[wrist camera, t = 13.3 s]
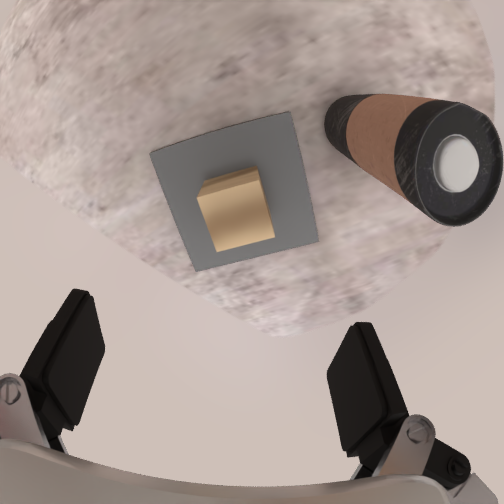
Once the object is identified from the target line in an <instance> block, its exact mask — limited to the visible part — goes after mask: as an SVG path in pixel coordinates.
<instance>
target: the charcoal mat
mask: <svg viewBox="0 0 504 504" xmlns="http://www.w3.org/2000/svg"><path fill="white" fill-rule="evenodd" d="M150 157H151V160H152V162H153V165H154V168H155V171H156V173H157V176H158V179H159V181H160V184H161V187H162V189H163V192H164V195H165V197H166V200H167V202H168V205H169V208H170V210H171V213H172V215H173V218H174V220H175V223H176V225H177V228H178V230H179V233H180V235H181V237H182V240H183V242H184V245H185V247H186V250H187V252H188V254H189V257H190V259H191V261H192V264H193V266H194V268H195V271H196V272H198V271H202V270H206V269H210V268H214V267H218V266H222V265H226V264H231V263H235V262H239V261H243V260H247V259H251V258H255V257H259V256H263V255H267V254H271V253H275V252H279V251H283V250H288V249H292V248H296V247H300V246H304V245H308V244H312V243H316V242H319V239H318V234H317V229H316V223H315V218H314V213H313V208H312V203H311V198H310V193H309V189H308V184H307V179H306V175H305V170H304V166H303V162H302V157H301V153H300V149H299V144H298V140H297V136H296V132H295V128H294V124H293V120H292V116H291V112H284V113H280V114H276V115H272V116H267V117H263V118H259V119H255V120H252V121H248V122H244V123H240V124H237V125H233V126H230V127H226V128H223V129H219V130H216V131H213V132H209V133H206V134H203V135H200V136H197V137H194V138H191V139H188V140H185V141H182V142H179V143H176V144H173V145H170V146H167V147H165V148H162V149H159V150H156V151H154V152H151V153H150ZM254 166H257V168H258V171H259V175H260V178H261V182H262V185H263V189H264V192H265V196H266V200H267V203H268V207H269V210H270V214H271V219H272V224H273V229H274V234H275V237H274V238H270V239H266V240H262V241H258V242H254V243H250V244H247V245H243V246H239V247H235V248H231V249H227V250H223V251H219V252H217V251H216V249H215V246H214V243H213V241H212V238H211V235H210V233H209V230H208V227H207V225H206V222H205V219H204V217H203V214H202V211H201V208H200V206H199V203H198V200H197V196H198V194H199V192H200V189H201V187H202V185H203V183H204V181H205V180H208V179H212V178H215V177H218V176H222V175H225V174H229V173H232V172H236V171H239V170H243V169H246V168H250V167H254Z"/></svg>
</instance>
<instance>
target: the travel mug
mask: <svg viewBox="0 0 504 504" xmlns="http://www.w3.org/2000/svg"><path fill="white" fill-rule="evenodd" d="M325 131H326V134H327V137H328V139H329V141H330V142H331V144H332V145H333V146H334V147H335V148H336V149H337V150H339V151H340V152H341V153H343V154H344V155H345V156H346V157H348V158H349V159H350V160H352V161H353V162H354V163H356V164H357V165H358V166H359V167H361V168H362V169H363V170H365V171H366V172H368V173H369V174H371V175H372V176H374V177H375V178H376V179H378V180H379V181H381V182H382V183H384V184H385V185H387V186H388V187H389V188H391V189H392V190H394V191H395V192H396V193H398V194H399V195H401V196H402V197H403V198H405V199H406V200H407V201H409V202H410V203H411V204H413V205H414V206H415V207H417V208H418V209H419V210H421V211H422V212H423V213H424V214H426V215H427V216H428V217H430V218H431V219H433V220H434V221H436V222H438V223H440V224H442V225H446V226H453V227H455V226H462V225H466V224H468V223H470V222H472V221H474V220H475V219H477V218H478V217H479V216H481V215H482V213H484V212H485V211H486V209H487V208H488V207H489V205H490V204H491V202H492V201H493V199H494V197H495V195H496V193H497V191H498V188H499V185H500V182H501V177H502V171H503V151H502V145H501V142H500V138H499V135H498V133H497V131H496V128H495V126H494V125H493V123H492V121H491V120H490V119H489V118H488V117H487V116H486V115H485V114H483V113H481V112H479V111H477V110H476V109H474V108H472V107H470V106H468V105H465V104H463V103H460V102H451V101H445V100H438V99H431V98H423V97H414V96H404V95H392V94H366V95H352V96H346V97H343V98H340V99H338V100H337V101H335V102H334V103H333V104H332V105H331V107H330V108H329V110H328V112H327V114H326V118H325Z"/></svg>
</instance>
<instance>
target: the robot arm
mask: <svg viewBox="0 0 504 504" xmlns="http://www.w3.org/2000/svg"><path fill="white" fill-rule="evenodd" d="M104 353H105V344H104V340H103V336H102V333H101V328H100V324H99V320H98V316H97V312H96V308H95V303H94V298H93V296H90V294H89V292H88V291H84V290H80V289H73V290H72V291H71V292H70V294H69V295H68V297H67V298H66V300H65V301H64V303H63V305H62V306H61V308H60V309H59V311H58V312H57V314H56V316H55V317H54V319H53V320H52V321H51V322H50V323H49V324H48V325H47V327H46V329H45V330H44V332H43V334H42V336H41V338H40V339H39V341H38V343H37V344H36V346H35V348H34V350H33V351H32V353H31V355H30V357H29V359H28V361H27V363H26V365H25V366H24V368H23V370H22V372H21V374H20V376H18V375H16V374H12V373H9V374H4V375H2V376H0V504H498V500H497V498H496V496H495V495H494V493H493V492H492V491H491V490H490V489H489V488H488V487H487V486H486V485H485V484H484V483H483V482H482V481H481V479H480V478H479V477H478V476H477V475H476V474H475V473H472V474H471V473H470V471H471V467H470V463H469V460H468V459H467V457H466V456H465V455H463V454H461V453H460V452H458V451H457V450H455V449H453V448H452V447H450V446H448V445H446V444H445V443H443V442H441V441H440V440H438V439H436V438H435V435H436V434H435V428H434V426H433V424H432V422H431V421H430V420H429V419H428V418H426V417H424V416H422V415H411V416H409V413H408V411H407V408H406V405H405V402H404V400H403V397H402V394H401V392H400V389H399V387H398V384H397V381H396V379H395V376H394V374H393V371H392V369H391V366H390V364H389V361H388V359H387V358H386V355H385V353H384V350H383V348H382V346H381V343H380V341H379V339H378V336H377V334H376V332H375V329H374V327H373V325H372V323H369V322H356V323H355V324H354V325H353V326H350V327H349V329H348V331H347V333H346V335H345V337H344V340H343V341H342V343H341V345H340V347H339V349H338V351H337V353H336V355H335V357H334V359H333V361H332V363H331V364H330V366H329V368H328V370H327V381H328V385H329V389H330V394H331V398H332V403H333V408H334V412H335V417H336V422H337V426H338V431H339V436H340V441H341V446H342V449H343V451H346V453H347V457H355V456H359V460H360V464H359V466H358V467H357V469H356V471H355V472H354V474H353V475H352V477H351V479H350V480H349V481H340V482H332V483H323V484H313V485H300V486H277V487H244V486H223V485H208V484H198V483H190V482H182V481H175V480H168V479H162V478H156V477H151V476H146V475H141V474H136V473H132V472H127V471H123V470H119V469H115V468H111V467H108V466H104V465H100V464H97V463H93V462H90V461H87V460H83V459H80V458H77V457H74V456H71V455H69V454H68V452H67V450H66V448H65V446H64V443H63V441H62V439H61V436H60V435H61V432H62V429H63V428H65V429H67V430H71V431H73V429H74V426H75V425H76V426H77V425H78V424H79V422H80V419H81V416H82V413H83V410H84V407H85V405H86V402H87V399H88V396H89V393H90V390H91V387H92V385H93V382H94V379H95V376H96V374H97V371H98V368H99V366H100V363H101V360H102V358H103V356H104Z"/></svg>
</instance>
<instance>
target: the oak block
mask: <svg viewBox="0 0 504 504" xmlns="http://www.w3.org/2000/svg"><path fill="white" fill-rule="evenodd" d="M197 200H198V203H199V206H200V208H201V211H202V214H203V217H204V219H205V222H206V225H207V227H208V230H209V233H210V235H211V238H212V241H213V243H214V246H215V249H216V251H217V252H219V251H223V250H227V249H231V248H235V247H239V246H243V245H247V244H250V243H254V242H258V241H262V240H266V239H270V238H274V237H275V234H274V229H273V224H272V219H271V214H270V210H269V207H268V203H267V200H266V196H265V192H264V189H263V185H262V182H261V178H260V175H259V171H258V168H257V166H254V167H250V168H246V169H243V170H239V171H236V172H232V173H229V174H225V175H222V176H218V177H215V178H212V179H208V180H205V181H204V183H203V185H202V187H201V189H200V192H199V194H198V196H197Z"/></svg>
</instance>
